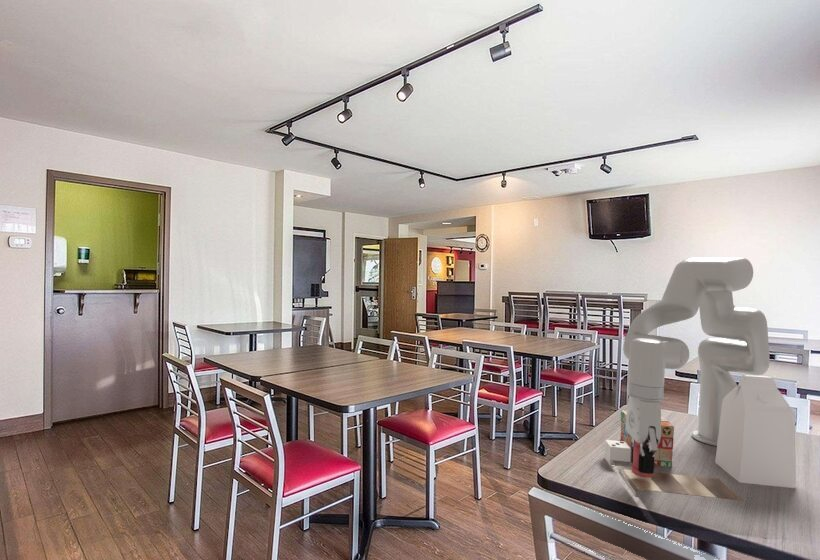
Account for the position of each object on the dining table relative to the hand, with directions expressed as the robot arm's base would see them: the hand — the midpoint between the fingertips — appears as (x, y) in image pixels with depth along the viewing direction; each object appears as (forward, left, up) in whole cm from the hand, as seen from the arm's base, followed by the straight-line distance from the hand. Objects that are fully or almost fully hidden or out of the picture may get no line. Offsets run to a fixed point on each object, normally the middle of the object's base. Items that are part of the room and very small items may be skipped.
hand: (642, 467), depth 105 cm
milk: (-29, -10, -5) cm, 31 cm away
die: (+2, -13, -4) cm, 14 cm away
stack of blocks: (-7, -20, -5) cm, 22 cm away
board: (-8, 0, -4) cm, 9 cm away
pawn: (0, 0, -1) cm, 1 cm away
